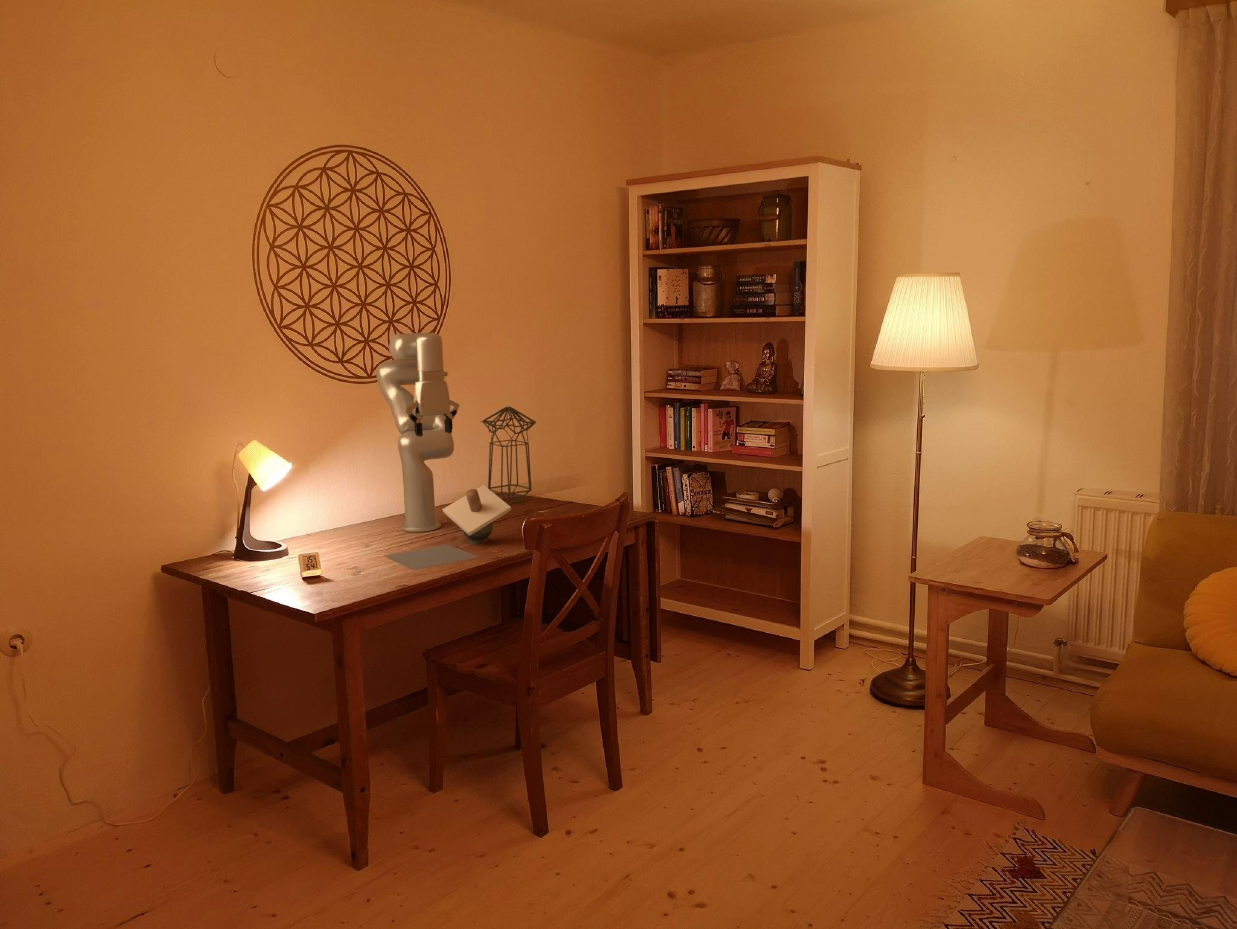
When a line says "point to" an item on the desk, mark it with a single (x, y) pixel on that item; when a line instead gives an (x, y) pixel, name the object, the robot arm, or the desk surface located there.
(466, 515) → the cover board
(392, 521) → the desk surface
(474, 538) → the mortar and pestle
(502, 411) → the geometric lantern
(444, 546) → the slate mat
